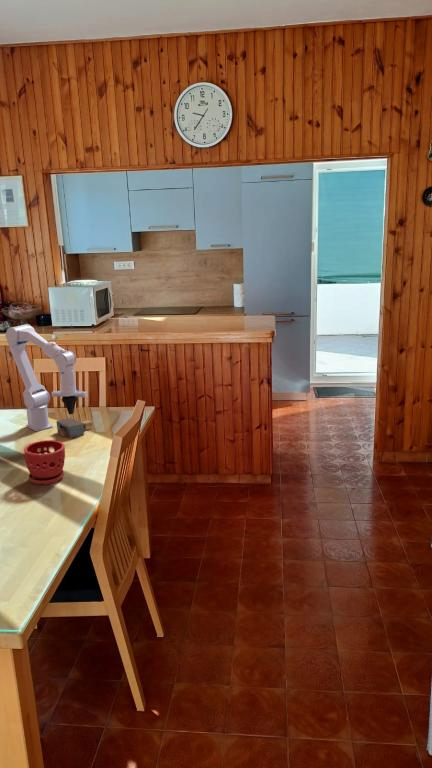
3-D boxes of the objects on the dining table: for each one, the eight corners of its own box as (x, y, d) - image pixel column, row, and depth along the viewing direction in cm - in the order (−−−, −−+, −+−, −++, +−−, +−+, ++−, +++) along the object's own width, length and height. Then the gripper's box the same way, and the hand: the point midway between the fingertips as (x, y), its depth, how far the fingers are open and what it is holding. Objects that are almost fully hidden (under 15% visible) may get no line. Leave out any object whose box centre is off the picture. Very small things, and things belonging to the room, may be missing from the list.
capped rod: (59, 435, 243) (58, 428, 242) (88, 426, 252) (88, 420, 251) (62, 437, 241) (62, 430, 240) (92, 428, 250) (91, 421, 249)
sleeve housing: (57, 432, 246) (56, 421, 245) (70, 428, 250) (69, 417, 249) (70, 438, 238) (69, 427, 237) (83, 434, 242) (82, 423, 241)
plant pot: (27, 490, 193) (23, 456, 190) (28, 474, 206) (24, 442, 202) (68, 484, 197) (64, 450, 194) (67, 469, 209) (63, 437, 206)
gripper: (46, 384, 237) (50, 416, 240) (81, 384, 234) (84, 417, 238) (54, 379, 243) (58, 410, 247) (87, 379, 241) (90, 411, 244)
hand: (71, 413), depth 243 cm, fingers closed
